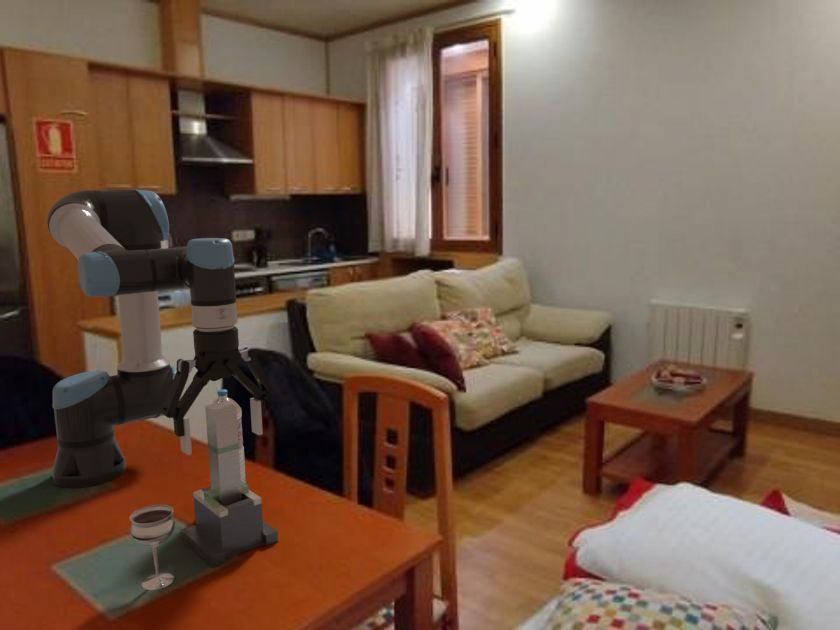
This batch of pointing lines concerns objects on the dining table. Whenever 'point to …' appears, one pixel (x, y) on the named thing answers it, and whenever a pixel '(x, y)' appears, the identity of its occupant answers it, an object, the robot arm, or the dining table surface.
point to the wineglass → (153, 538)
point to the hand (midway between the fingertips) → (223, 442)
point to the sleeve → (227, 528)
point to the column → (223, 455)
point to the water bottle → (222, 398)
